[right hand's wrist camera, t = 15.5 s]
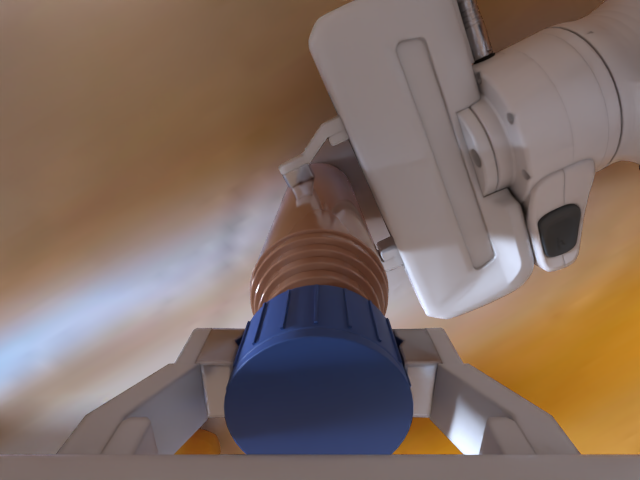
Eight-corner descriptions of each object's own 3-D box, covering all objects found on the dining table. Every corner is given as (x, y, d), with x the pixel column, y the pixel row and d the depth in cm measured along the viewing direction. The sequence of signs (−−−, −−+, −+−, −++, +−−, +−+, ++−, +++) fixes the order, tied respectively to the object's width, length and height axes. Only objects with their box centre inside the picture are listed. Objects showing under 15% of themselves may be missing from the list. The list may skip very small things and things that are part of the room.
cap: (250, 410, 11) (233, 483, 9) (234, 283, 10) (209, 335, 7) (391, 407, 11) (409, 480, 9) (399, 279, 10) (422, 331, 7)
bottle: (276, 175, 28) (171, 343, 8) (341, 153, 27) (397, 276, 7) (299, 235, 30) (259, 492, 10) (360, 215, 29) (447, 448, 9)
